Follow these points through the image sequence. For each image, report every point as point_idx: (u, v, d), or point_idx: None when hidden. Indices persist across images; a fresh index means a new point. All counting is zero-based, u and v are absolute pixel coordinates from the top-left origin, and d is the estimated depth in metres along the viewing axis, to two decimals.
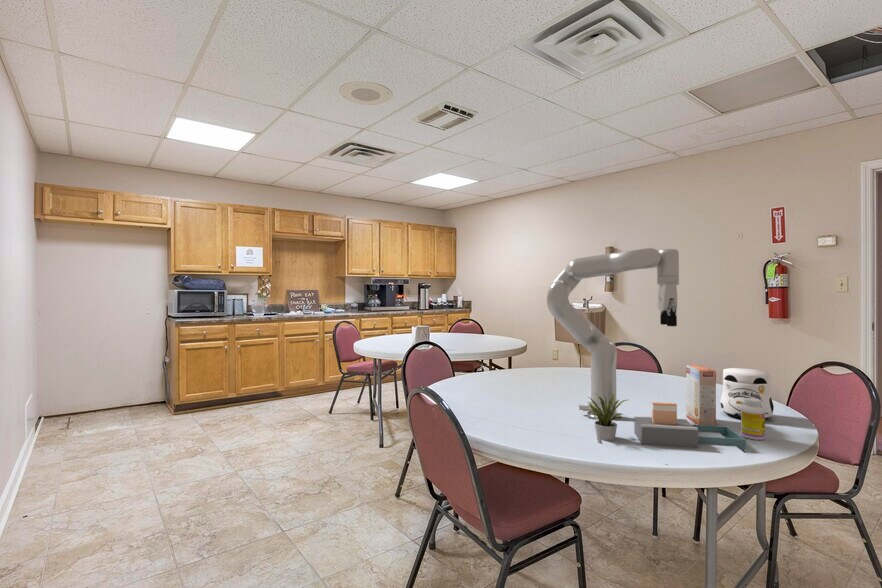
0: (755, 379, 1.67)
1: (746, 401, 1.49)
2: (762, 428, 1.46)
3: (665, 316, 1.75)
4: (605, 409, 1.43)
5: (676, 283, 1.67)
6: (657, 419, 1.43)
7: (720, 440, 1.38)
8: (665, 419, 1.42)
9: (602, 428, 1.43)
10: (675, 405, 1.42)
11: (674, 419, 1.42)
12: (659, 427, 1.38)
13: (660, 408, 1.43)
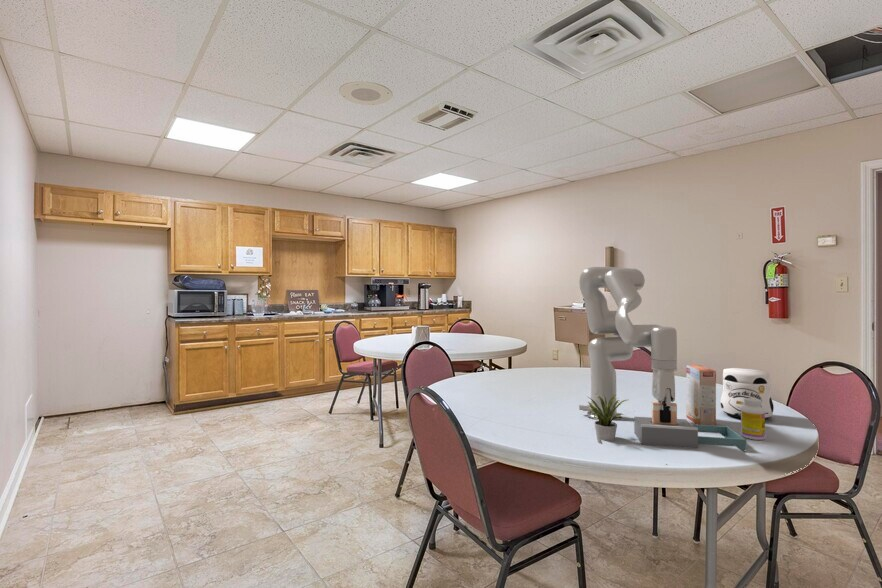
0: (755, 379, 1.67)
1: (746, 401, 1.49)
2: (762, 428, 1.46)
3: None
4: (605, 409, 1.43)
5: (674, 369, 1.40)
6: (657, 419, 1.43)
7: (720, 440, 1.38)
8: None
9: (602, 428, 1.43)
10: (675, 405, 1.42)
11: (674, 419, 1.42)
12: (659, 427, 1.38)
13: (660, 408, 1.43)
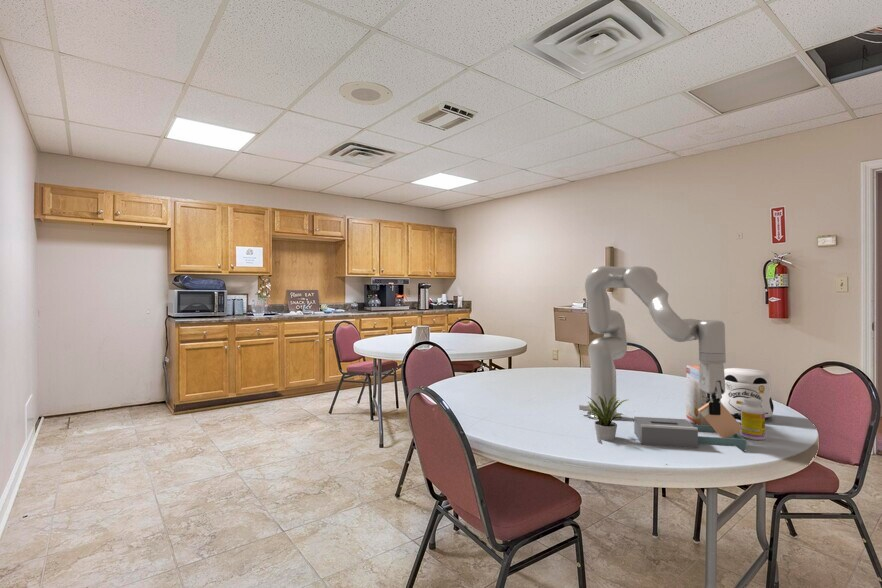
0: (755, 379, 1.67)
1: (746, 401, 1.49)
2: (762, 428, 1.46)
3: None
4: (605, 409, 1.43)
5: (723, 362, 1.42)
6: (713, 421, 1.44)
7: (720, 440, 1.38)
8: (719, 417, 1.44)
9: (602, 428, 1.43)
10: None
11: (726, 412, 1.43)
12: (659, 427, 1.38)
13: (708, 411, 1.44)
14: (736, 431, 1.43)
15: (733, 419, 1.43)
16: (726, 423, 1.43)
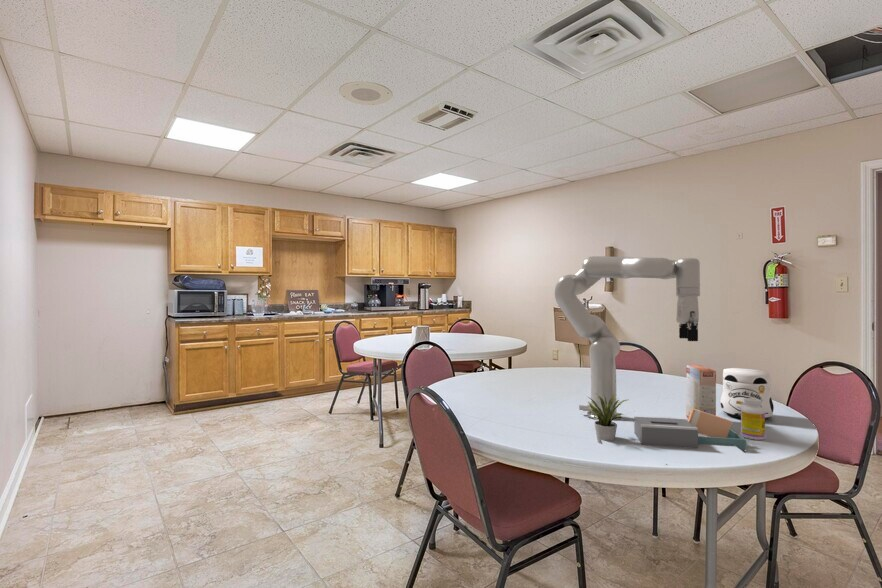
0: (755, 379, 1.67)
1: (746, 401, 1.49)
2: (762, 428, 1.46)
3: (684, 330, 1.64)
4: (605, 409, 1.43)
5: (697, 295, 1.56)
6: (705, 431, 1.45)
7: (720, 440, 1.38)
8: (706, 424, 1.45)
9: (602, 428, 1.43)
10: (694, 410, 1.46)
11: (709, 416, 1.45)
12: (659, 427, 1.38)
13: (694, 424, 1.46)
14: (728, 427, 1.43)
15: (718, 418, 1.44)
16: (716, 425, 1.44)
